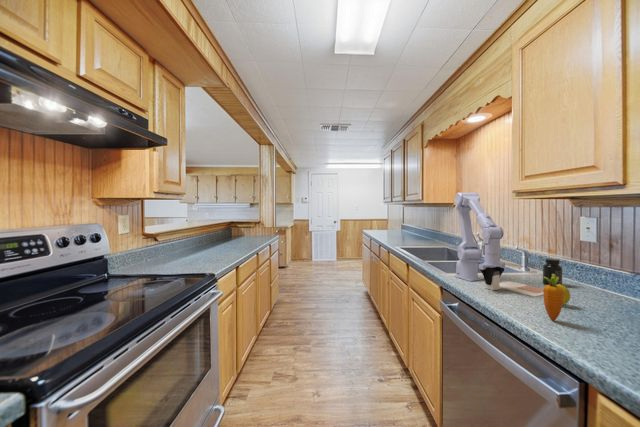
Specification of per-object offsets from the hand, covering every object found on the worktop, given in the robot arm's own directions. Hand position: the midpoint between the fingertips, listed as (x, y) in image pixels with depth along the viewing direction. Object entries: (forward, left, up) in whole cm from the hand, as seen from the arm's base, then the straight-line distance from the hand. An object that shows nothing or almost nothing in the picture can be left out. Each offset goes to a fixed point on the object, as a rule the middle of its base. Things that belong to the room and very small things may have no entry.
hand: (491, 283), depth 119 cm
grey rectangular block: (0, 0, -2) cm, 2 cm away
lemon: (+23, +4, -2) cm, 23 cm away
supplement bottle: (+7, +31, -2) cm, 32 cm away
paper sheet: (+5, +12, -2) cm, 13 cm away
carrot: (+30, -14, -2) cm, 33 cm away
